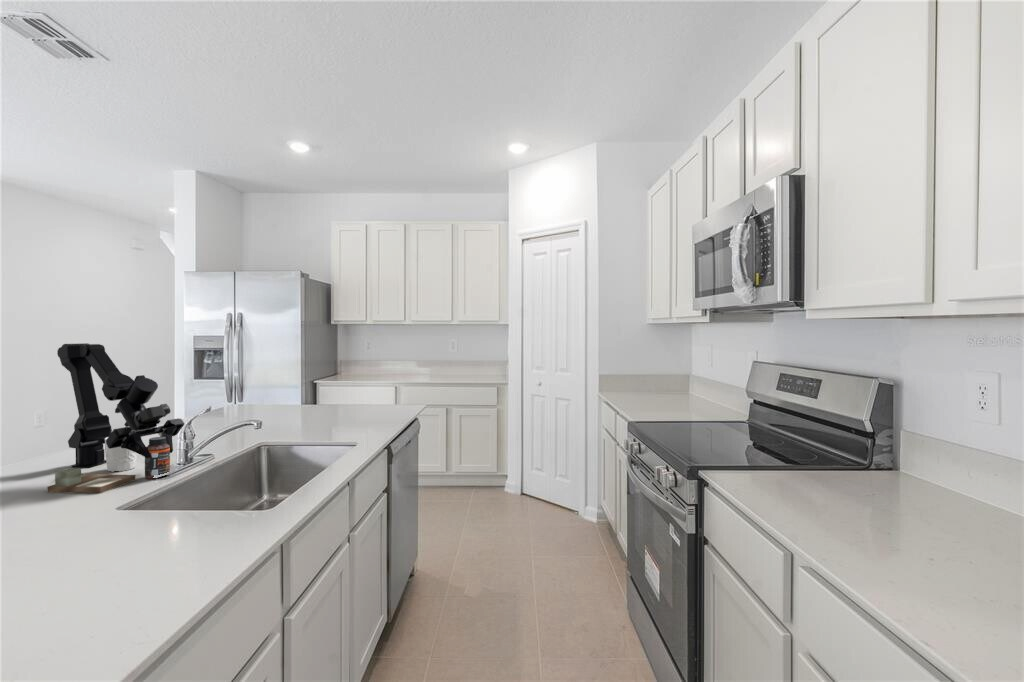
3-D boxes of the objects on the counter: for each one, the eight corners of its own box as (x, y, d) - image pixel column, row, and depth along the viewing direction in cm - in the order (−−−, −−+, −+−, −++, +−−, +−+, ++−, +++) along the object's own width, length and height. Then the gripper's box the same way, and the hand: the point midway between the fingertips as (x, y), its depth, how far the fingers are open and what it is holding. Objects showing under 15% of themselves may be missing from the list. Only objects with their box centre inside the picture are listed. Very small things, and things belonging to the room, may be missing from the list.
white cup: (110, 467, 148) (109, 435, 148) (141, 464, 152) (140, 433, 151) (100, 474, 141) (100, 440, 141) (133, 470, 144) (133, 438, 144)
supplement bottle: (159, 479, 136) (159, 440, 135) (139, 479, 136) (139, 440, 136) (175, 473, 142) (174, 435, 141) (155, 473, 142) (155, 435, 142)
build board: (47, 492, 125) (47, 473, 125) (86, 479, 136) (86, 461, 136) (100, 493, 124) (100, 473, 124) (135, 480, 135) (135, 462, 135)
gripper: (111, 400, 131) (137, 443, 127) (180, 392, 148) (205, 430, 145) (94, 426, 134) (119, 469, 130) (163, 415, 151) (187, 453, 148)
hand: (160, 454), depth 138 cm, fingers closed on supplement bottle, 6 cm apart
